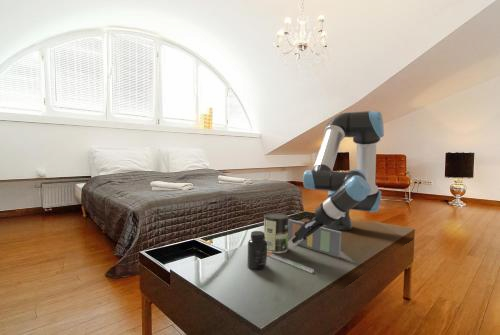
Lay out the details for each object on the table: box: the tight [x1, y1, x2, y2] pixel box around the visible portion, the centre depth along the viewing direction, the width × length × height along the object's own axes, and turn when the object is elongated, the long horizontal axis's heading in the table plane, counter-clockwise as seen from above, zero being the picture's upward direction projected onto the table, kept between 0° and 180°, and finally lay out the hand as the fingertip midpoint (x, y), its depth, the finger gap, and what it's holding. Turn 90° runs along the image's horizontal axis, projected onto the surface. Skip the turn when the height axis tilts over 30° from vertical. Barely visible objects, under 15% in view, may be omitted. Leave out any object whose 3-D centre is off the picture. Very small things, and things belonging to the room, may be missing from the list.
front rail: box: [267, 252, 315, 274], centre depth 95 cm, size 1×26×1 cm, turn 45°
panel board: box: [288, 218, 342, 259], centre depth 108 cm, size 1×26×10 cm, turn 45°
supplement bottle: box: [246, 230, 268, 271], centre depth 89 cm, size 7×7×12 cm
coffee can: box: [263, 212, 290, 254], centre depth 107 cm, size 10×10×14 cm
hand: (289, 245), depth 101 cm, fingers closed
